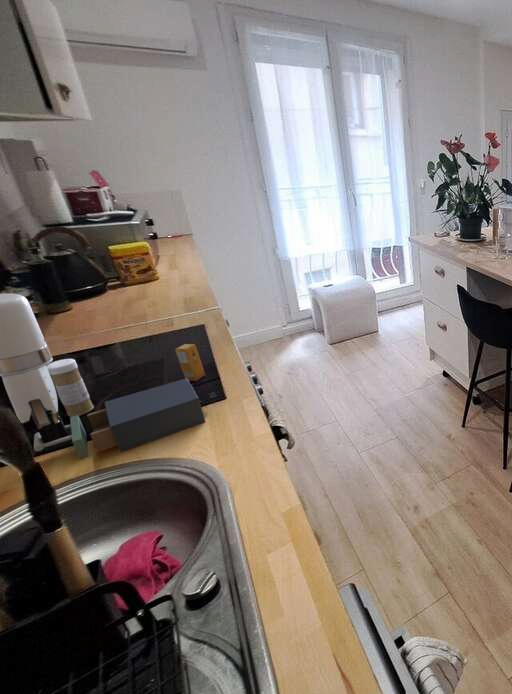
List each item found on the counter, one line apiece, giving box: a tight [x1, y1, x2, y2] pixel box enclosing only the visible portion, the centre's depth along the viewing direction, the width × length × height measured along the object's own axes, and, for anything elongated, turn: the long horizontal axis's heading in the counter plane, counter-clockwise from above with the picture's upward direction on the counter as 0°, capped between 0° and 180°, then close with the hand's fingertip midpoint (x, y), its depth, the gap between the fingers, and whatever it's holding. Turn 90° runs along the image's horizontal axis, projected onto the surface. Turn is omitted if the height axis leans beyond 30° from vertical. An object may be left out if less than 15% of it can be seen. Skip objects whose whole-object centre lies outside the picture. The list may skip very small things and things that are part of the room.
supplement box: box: [174, 343, 206, 382], centre depth 112 cm, size 3×3×10 cm
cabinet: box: [104, 377, 206, 453], centre depth 94 cm, size 15×13×7 cm
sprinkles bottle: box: [46, 358, 95, 417], centre depth 96 cm, size 5×5×14 cm
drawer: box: [33, 408, 118, 460], centre depth 88 cm, size 19×11×5 cm, turn 138°
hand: (56, 439), depth 83 cm, fingers closed
